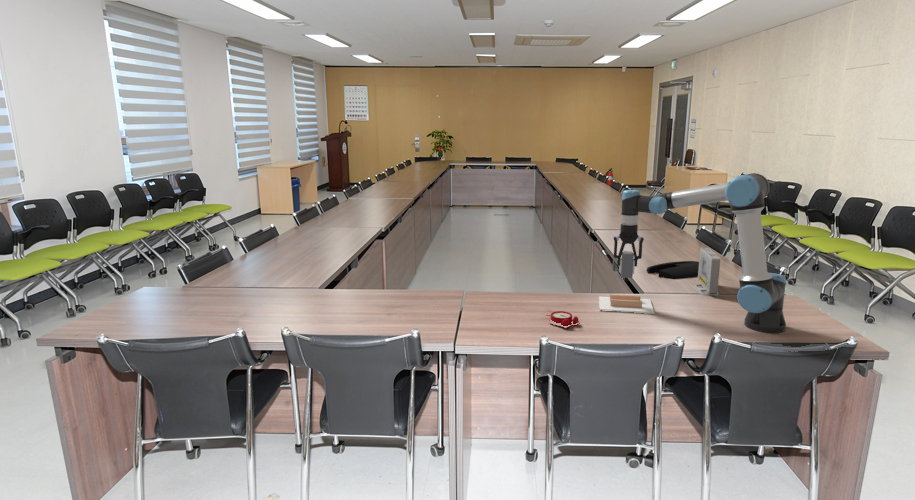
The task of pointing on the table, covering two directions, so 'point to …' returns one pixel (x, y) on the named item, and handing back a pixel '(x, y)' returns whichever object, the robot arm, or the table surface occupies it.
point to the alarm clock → (563, 318)
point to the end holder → (626, 304)
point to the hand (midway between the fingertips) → (626, 272)
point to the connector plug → (627, 264)
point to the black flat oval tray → (675, 269)
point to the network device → (708, 272)
